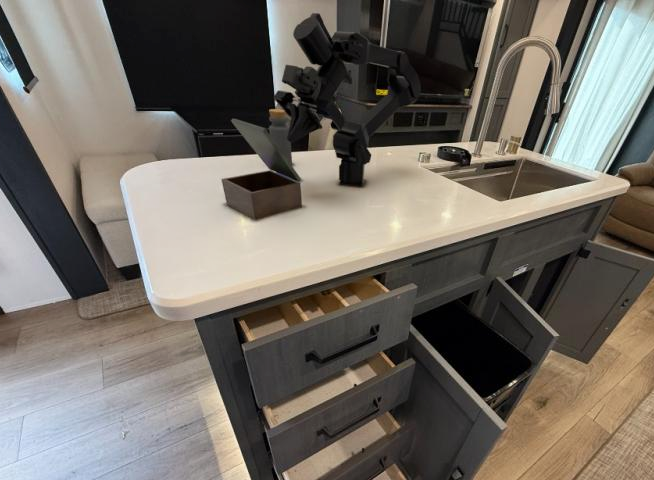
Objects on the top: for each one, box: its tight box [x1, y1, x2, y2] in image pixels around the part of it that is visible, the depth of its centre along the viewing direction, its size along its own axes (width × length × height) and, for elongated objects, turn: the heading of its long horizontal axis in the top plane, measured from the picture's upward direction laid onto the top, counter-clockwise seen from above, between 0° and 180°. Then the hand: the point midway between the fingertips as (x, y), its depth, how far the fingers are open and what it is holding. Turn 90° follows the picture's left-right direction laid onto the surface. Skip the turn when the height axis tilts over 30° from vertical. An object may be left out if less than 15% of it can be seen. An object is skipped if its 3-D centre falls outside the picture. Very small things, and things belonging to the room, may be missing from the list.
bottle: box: [268, 108, 293, 166], centre depth 97 cm, size 6×6×15 cm
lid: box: [230, 118, 302, 182], centre depth 69 cm, size 13×11×1 cm
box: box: [221, 169, 303, 221], centre depth 73 cm, size 12×11×6 cm
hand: (289, 141), depth 72 cm, fingers closed
